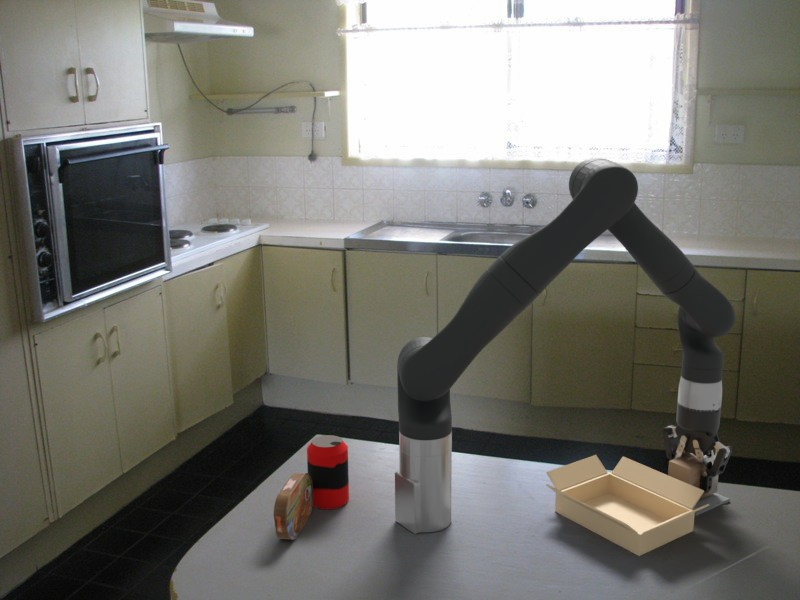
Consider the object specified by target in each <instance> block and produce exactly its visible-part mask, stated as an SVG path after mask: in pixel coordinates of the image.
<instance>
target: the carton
mask: <svg viewBox="0 0 800 600" xmlns="http://www.w3.org/2000/svg"><path fill="white" fill-rule="evenodd" d="M545 473H546V475H547V476H548V478H549V480H550V482H551V483H552V484H553V486H552V485H550V484H548V483H546V487H547V488H549V489H550V490H551V491H553V492H554V493H555V504H554V506H555V507H554V512H555V513H557V514H559V515H561V516H562V517H564V518H567V519H568V520H570V521H572V522H574V523H576V524H578V525H580V526H582V527H583V528H585V529H587V530H589V531H590V532H593V533H594V534H596V535H599V536H601V537H602V538H604V539H606V540H608V541H610V542H611V543H613V544H614V545H615V544H616V546H619V547H621V548H623V549H625V550H627V551H629V552H630V553H632V554H634V555H637V557H640V556H642V555H644V554H646V553H649V552H651V551H654V550H655V549H658V548H660V547H662V546H664V545H666V544H669V543H670V542H672V541H674V540H677V539H679V538H681V537H684V536H685V535H687V534H689V533H692V532H694V528H695V527H694V526H695V512H696V511H698V510H700V509H703V508H705V507H707V506H709V504H707V505H705V506H702V507H700V508H698V509H695V510H692V509H693V508H694V506H695V505H696V503H697V502H698V500H699V499H700V497H701V496H702V494H703V493H704V490H701V489H699V488H697V487H694V486H692V485H690V484H687V483H685V482H683V481H680V480H678V479H675V478H673V477H671V476H668V474H666V473H663V472H662V471H661V472H660V471H659V470H656V469H655V468H654V469H653V468H651V467H650V466H647V465H644V464H642V463H639V462H637V461H635V460H633V459H630V458H628V457H626V456H623V455H622V457H621V458H620V460H619V461H618V463H617V464H616V466H615V467H614V469H613V470H612V471H607V470H606V468H605V466H604V465H603V463H602V461H601V460H600V458H599V457H598V455H597V454H594V455H591V456H589V457H586V458H582V459H580V460H577V461H574V462H572V463H568V464H565V465H562V466H561V467H560V466H559V467H557V468H554V469H550V470H548V471H546V472H545Z"/></svg>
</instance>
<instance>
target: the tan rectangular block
mask: <svg viewBox="0 0 800 600" xmlns="http://www.w3.org/2000/svg"><path fill="white" fill-rule="evenodd" d="M704 457H706V455H705V456H704ZM715 458H716V455H715V454H714V460H715ZM713 463H714V461H713ZM667 475H668V476H671V477H673V478H675V479H678V480H680V481H683V482H685V483H687V484H690V485H692V486H694V487H697V488H699V486H700V475H702V474H701V465H700V464H698V463H697V458H696V456H695V455H694V454H692V453H691V454H689V455H688V454H687V455H685V456H684V457H678V458H675V459H673V460H672V459H669V461H668V469H667ZM719 475H720V474H719ZM719 475H716V476H715V477H712V488H711V490H710V491H709V492H708V493H705V494H702V496H701V497H700V499H702V498H704V497H707V496H709V495H711V494H714V493H718V486H719V485H718V484H719V477H720V476H719ZM700 499H699V500H700Z"/></svg>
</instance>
